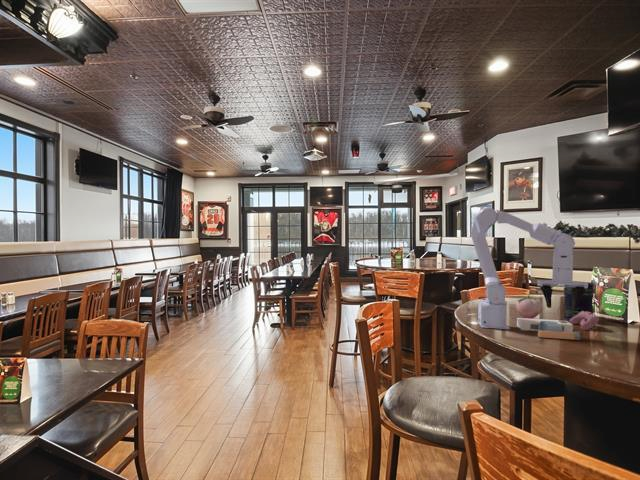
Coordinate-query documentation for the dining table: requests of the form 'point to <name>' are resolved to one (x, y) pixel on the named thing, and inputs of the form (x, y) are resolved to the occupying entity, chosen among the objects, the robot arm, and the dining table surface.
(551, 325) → the plug
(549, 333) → the wooden block bar
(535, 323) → the power strip
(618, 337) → the dining table surface
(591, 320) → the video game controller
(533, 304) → the decorative fruit
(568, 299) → the storage jar
